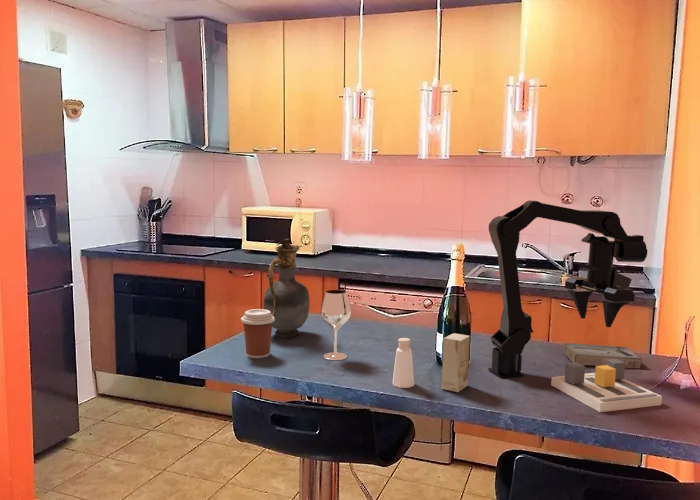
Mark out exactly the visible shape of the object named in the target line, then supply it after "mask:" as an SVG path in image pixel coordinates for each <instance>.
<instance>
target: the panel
mask: <svg viewBox="0 0 700 500" xmlns="http://www.w3.org/2000/svg"><path fill="white" fill-rule="evenodd" d="M605 365H608V366H610V367H612V368H615V369H616V375H615V386H612V387H602V386H600V385H598V384H596V383H595V372H589V373H586V372H585V371H586V365H581V364H579V363H577V362H575V363H572V362H566V363H565V367H564V375H560V376H559V375H558V376H551V381H550V382H551V384H550V385H551V386H552V387H554V388H556V389H557V390H559V391H561V392H562V393H564V394H566V395H568V396H569V397H572V398H573V399H576V400H577V401H579V402H581V403H583V404H584V405H586V406H588V407H589V408H592V409H593V410H595V411H596V412H598V413H604V412H606V413H607V412H613V411H621V410H631V409H638V408H647V407H655V406H656V407H657V406H662V400H663V395H660V394H658V393H656V392H654V391H651V390H649V389H647V388H644V386H641V385H638V384H636V383H633V382H631V381H630V380H628V379H627V380H626V379H625V362H622V361H620V360H617V359H609V360H605Z"/></svg>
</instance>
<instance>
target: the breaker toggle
mask: <svg viewBox="0 0 700 500" xmlns="http://www.w3.org/2000/svg"><path fill="white" fill-rule="evenodd" d="M594 371H595V372H594V373H595V383H596V384H598V385H600V386H602V387H612V386H615V375H616V369H615V368H612V367H610V366H608V365H602V366H595V370H594Z"/></svg>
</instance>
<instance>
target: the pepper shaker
mask: <svg viewBox="0 0 700 500" xmlns="http://www.w3.org/2000/svg"><path fill="white" fill-rule="evenodd" d="M397 341H398V348H396V352H395V360H394V368H393V375H392V376H393V377H392V386H393V387H396V388H399V389H410V388H412V387H414V386H415V377H414V366H413V365H414V364H413V351H412V348H411V347H410V346H411V339H410V338H408V337H401V338H398V340H397Z"/></svg>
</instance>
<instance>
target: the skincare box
mask: <svg viewBox="0 0 700 500" xmlns="http://www.w3.org/2000/svg"><path fill="white" fill-rule="evenodd" d="M442 341H443V343H442V345H443V347H442V372H441V389H442V390H446V391H451V392H454V393H455V392H456V393H459V392H460V391H462V390H464V389H465V388H466V387H467V386H468V384H469V361H470V341H471V339H470V335H466V334H460V333H456V332H454V333H451V334H449V335H447V336H446V337H443V340H442Z"/></svg>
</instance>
